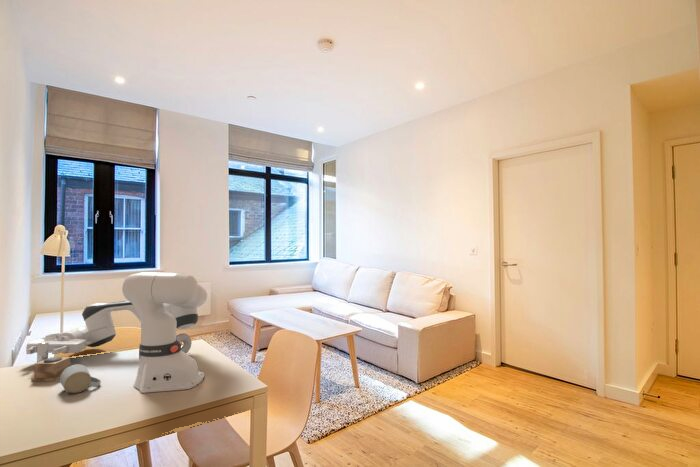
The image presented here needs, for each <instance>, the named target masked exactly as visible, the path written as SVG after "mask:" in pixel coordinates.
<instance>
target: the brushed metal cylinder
mask: <svg viewBox="0 0 700 467" xmlns="http://www.w3.org/2000/svg"><path fill="white" fill-rule="evenodd" d="M48 346H49V342H41V343H38V347H37V353H36V363H38V362H40V361H43V360H45V359H48V358H49V353H48Z"/></svg>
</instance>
